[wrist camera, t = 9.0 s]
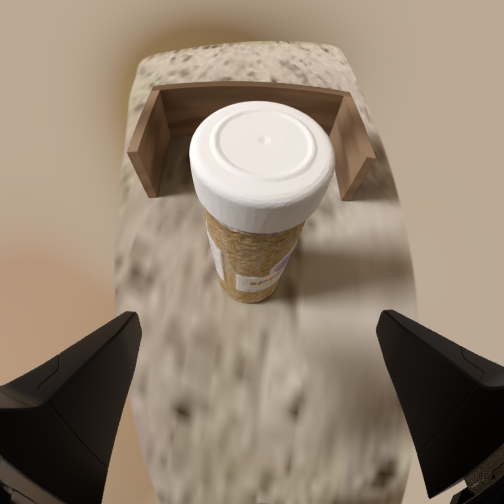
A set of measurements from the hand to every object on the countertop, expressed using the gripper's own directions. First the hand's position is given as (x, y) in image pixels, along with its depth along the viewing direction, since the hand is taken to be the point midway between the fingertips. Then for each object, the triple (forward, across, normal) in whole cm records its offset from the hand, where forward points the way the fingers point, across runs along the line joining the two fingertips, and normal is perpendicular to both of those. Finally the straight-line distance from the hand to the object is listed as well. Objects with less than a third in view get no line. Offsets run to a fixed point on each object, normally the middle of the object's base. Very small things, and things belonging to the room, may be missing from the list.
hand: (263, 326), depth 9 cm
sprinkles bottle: (+11, 0, +4) cm, 11 cm away
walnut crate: (+18, 0, -4) cm, 18 cm away
